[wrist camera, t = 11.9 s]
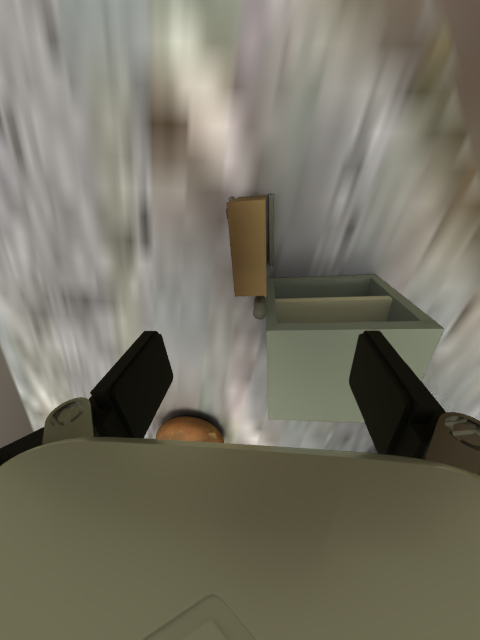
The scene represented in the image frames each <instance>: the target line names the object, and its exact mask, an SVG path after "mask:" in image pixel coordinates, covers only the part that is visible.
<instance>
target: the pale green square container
mask: <svg viewBox="0 0 480 640" xmlns="http://www.w3.org/2000/svg"><path fill="white" fill-rule="evenodd" d="M231 200H234V197H231V198H229V201H231ZM269 258H270V266H274V194H269ZM266 294H267V296H266V298H265V296H256V297H255V300H254V310H253V315H254V317H255V318H257V319H263V318H264V317H265V316H266V340H267V387H268V419H276V420H302V421H329V422H356V423H365V421H364V419H363V417H362V414H361V412H360V409H359V407H358V405H357V402H356V400H355V397H354V395H353V393H352V390H351V388H350V385H349V376H350V371H351V367H352V363H353V358H354V354H355V349H356V345H357V340H358V336H359V334H363V332H364V331H380V332H381V333H382V334H383V335H384V337H385V338H386V339H387V340H388V342H389V343H390V344H391V345H392V347H393V348H394V349H395V350H396V352H397V353H398V354H399V355H400V357H401V358H402V359H403V360H404V362H406V363H407V364H408V366H409V367H410V368H411V369H412V371H413V372H414V373H415V374H416V376H417V377H418V378H419V379H420V381H421V380H422V378H423V375H424V373H425V371H426V369H427V367H428V364H429V362H430V360H431V358H432V355H433V353H434V351H435V349H436V347H437V344H438V342H439V340H440V338H441V336H442V333H443V331H444V328H443V327H442V326H441V325H439V324H438V323H437V322H435V321H434V320H433V319H432V318H430V317H429V316H428V315H427V314H425V313H424V312H423V311H422V310H420V309H419V308H418V307H417V306H415V305H414V304H413V303H411V302H410V301H409V300H408V299H406V298H405V297H404V296H403V295H401V294H400V293H399V292H398V291H396V290H395V289H394V288H392V287H391V286H390V285H389V284H387V283H386V282H385V281H384V280H382V279H381V278H380V277H379V276H377V275H376V274H366V275H341V276H315V277H290V278H266Z"/></svg>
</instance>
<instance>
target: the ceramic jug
mask: <svg viewBox="0 0 480 640" xmlns="http://www.w3.org/2000/svg"><path fill="white" fill-rule="evenodd" d="M156 439H162V440H180V441H197V442H213V443H224V440H223V437H222V435H221V433H220V432H219V430H218V429H217V428H216V427H215V426H213V425H212V424H211V423H209V422H207V421H205V420H203V419H199V418H195V417H187V416H184V417H176V418H173V419H170V420H168V421H167V422H165V423H164V424H163V425H162V426H161V427H160V428H159V430H158V432H157V434H156Z"/></svg>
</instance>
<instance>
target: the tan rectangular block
mask: <svg viewBox="0 0 480 640" xmlns="http://www.w3.org/2000/svg"><path fill="white" fill-rule="evenodd" d="M226 212H227V219H228V223H229V235H230V246H231V257H232V269H233V280H234V291H235V296H267V294H266V195H263V196H250V197H239V198H236V199H234V200H231V201H229V202H227V210H226Z"/></svg>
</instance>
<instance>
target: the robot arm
mask: <svg viewBox="0 0 480 640" xmlns="http://www.w3.org/2000/svg"><path fill="white" fill-rule="evenodd" d="M172 380H173V373H172V369H171V366H170V362H169V359H168V355H167V352H166V349H165V345H164V342H163V338H162V335H161V334H159V333H158V332H157V331H144V332H143V333H142V334H141V335H140V337H139V338H138V339H137V340H136V341H135V342H134V343H133V345H132V346H131V347H130V348H129V349H128V350H127V351H126V352H125V354H124V355H123V356H122V357H121V358H120V359H119V360H118V362H117V363H116V364H115V365H114V366H113V367H112V368H111V369H110V371H109V372H108V373H107V374H106V375H105V376H104V377H103V378H102V380H101V381H100V382H99V383H98V384H97V385H96V386H95V388H94V389H93V390H92V391H91V392H90V393H91V395H92V396H91V397H90V398H89V400H88V399H87V398H82V397H80V398H74V399H71V400H68V401H66V402H64V403H62V404H61V405H59V406H58V407H56V408H55V409H54V410H53V411H52V412H51V413H50V414H49V416H48V417H47V418H46V421H45V426H44V427H43V428H41V429H39V430H37V431H35V432H33V433H31V434H29V435H27V436H25V437H23V438H21V439H19V440H17V441H15V442H13V443H11V444H9V445H6V446H4V447H2V448H0V640H480V421H479V420H477V419H475V418H473V417H470V416H468V415H465V414H461V413H456V412H447V413H446V412H445V411H444V409H443V408H442V407H441V406H440V404H439V403H438V402H437V401H436V399H435V398H434V397H433V396H432V394H431V393H430V392H429V391H428V389H427V388H426V387H425V386H424V384H423V383H422V382H421V381H420V379H419V378H418V377H417V376H416V374H415V373H414V372H413V371H412V369H411V368H410V367H409V366H408V364H407V363H406V362H404V360H403V359H402V358H401V357H400V355H399V354H398V353H397V352H396V350H395V349H394V348H393V347H392V345H391V344H390V343H389V342H388V340H387V339H386V338H385V337H384V335H383V334H382V333H381V332H380V331H364V332H363V334H359V336H358V340H357V345H356V349H355V354H354V358H353V363H352V367H351V371H350V376H349V385H350V388H351V390H352V393H353V395H354V397H355V400H356V402H357V405H358V407H359V409H360V412H361V414H362V417H363V419H364V421H365V424H366V426H367V429H368V431H369V433H370V436H371V438H372V440H373V443H374V445H375V448H376V451H377V453H378V454H372V453H360V452H349V451H335V450H320V449H306V448H291V447H277V446H261V445H245V444H229V443H213V442H197V441H180V440H162V439H145V438H144V436H145V434H146V432H147V430H148V428H149V426H150V424H151V422H152V420H153V418H154V416H155V414H156V412H157V410H158V408H159V406H160V404H161V402H162V400H163V398H164V397H165V395H166V393H167V391H168V389H169V387H170V385H171V383H172Z"/></svg>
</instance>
